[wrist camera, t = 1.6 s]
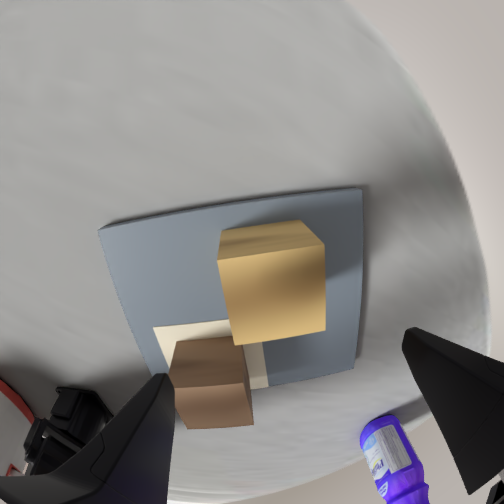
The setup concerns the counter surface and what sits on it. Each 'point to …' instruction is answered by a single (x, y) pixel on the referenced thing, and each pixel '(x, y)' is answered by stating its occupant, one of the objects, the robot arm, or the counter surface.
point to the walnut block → (211, 383)
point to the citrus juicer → (13, 431)
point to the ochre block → (273, 281)
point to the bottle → (393, 462)
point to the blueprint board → (210, 287)
